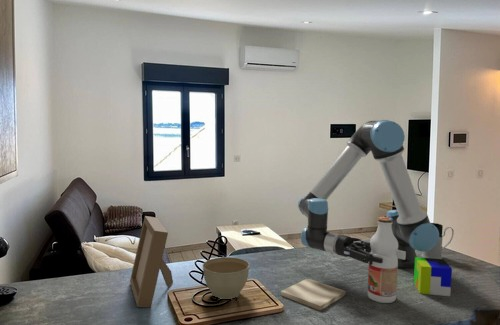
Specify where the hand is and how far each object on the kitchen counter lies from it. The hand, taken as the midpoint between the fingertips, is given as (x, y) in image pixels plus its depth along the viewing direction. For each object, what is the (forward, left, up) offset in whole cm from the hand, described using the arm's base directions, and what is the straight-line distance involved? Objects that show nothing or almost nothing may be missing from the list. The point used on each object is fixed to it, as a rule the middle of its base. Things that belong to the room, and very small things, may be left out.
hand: (399, 259), depth 127 cm
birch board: (+15, -23, -15) cm, 32 cm away
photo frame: (+52, -64, -15) cm, 84 cm away
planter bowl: (+36, -45, -15) cm, 60 cm away
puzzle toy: (-20, +5, -15) cm, 26 cm away
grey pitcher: (-60, -5, -15) cm, 62 cm away
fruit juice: (0, -5, -15) cm, 16 cm away
